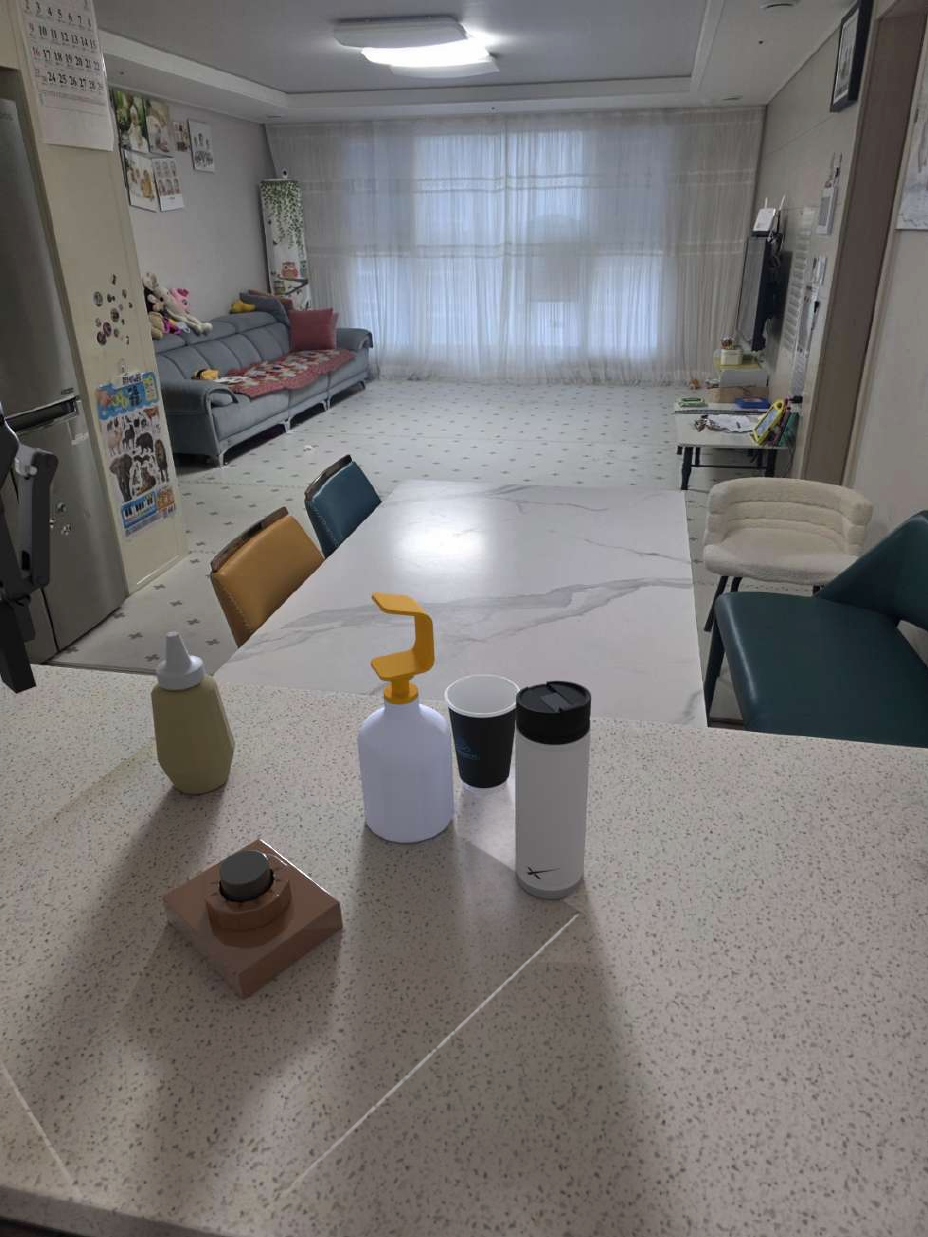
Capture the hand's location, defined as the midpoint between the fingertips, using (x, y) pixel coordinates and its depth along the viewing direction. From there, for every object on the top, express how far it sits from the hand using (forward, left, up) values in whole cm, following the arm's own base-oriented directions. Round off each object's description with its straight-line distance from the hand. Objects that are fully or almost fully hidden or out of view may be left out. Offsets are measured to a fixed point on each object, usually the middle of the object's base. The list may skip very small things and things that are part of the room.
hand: (19, 683), depth 62 cm
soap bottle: (+20, +23, -24) cm, 39 cm away
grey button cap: (+14, +5, -20) cm, 24 cm away
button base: (+14, +5, -24) cm, 28 cm away
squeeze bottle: (-4, +20, -24) cm, 32 cm away
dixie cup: (+25, +31, -24) cm, 47 cm away
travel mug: (+36, +20, -24) cm, 48 cm away
